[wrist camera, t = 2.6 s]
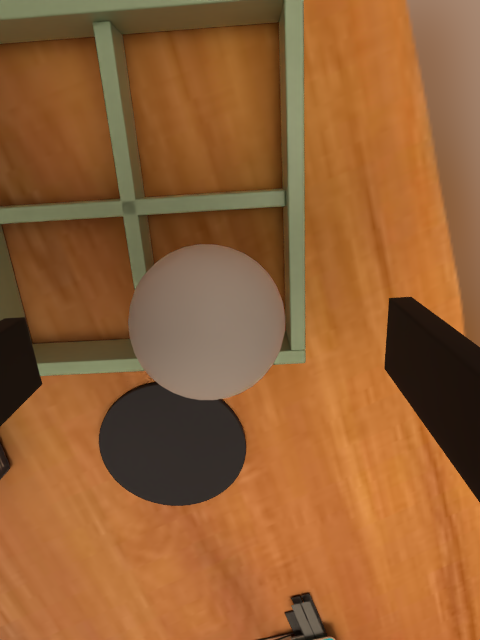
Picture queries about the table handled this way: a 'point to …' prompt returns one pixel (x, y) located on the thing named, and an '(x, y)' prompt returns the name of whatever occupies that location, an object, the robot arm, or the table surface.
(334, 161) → the table surface
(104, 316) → the table surface
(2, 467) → the small box
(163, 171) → the table surface
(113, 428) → the coaster
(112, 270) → the table surface
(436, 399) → the robot arm
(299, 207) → the green grid frame
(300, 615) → the phone stand
